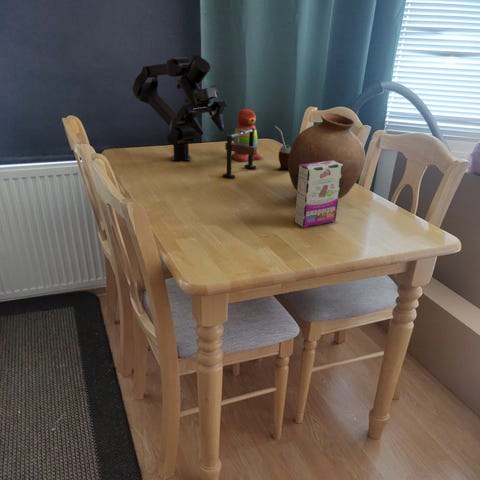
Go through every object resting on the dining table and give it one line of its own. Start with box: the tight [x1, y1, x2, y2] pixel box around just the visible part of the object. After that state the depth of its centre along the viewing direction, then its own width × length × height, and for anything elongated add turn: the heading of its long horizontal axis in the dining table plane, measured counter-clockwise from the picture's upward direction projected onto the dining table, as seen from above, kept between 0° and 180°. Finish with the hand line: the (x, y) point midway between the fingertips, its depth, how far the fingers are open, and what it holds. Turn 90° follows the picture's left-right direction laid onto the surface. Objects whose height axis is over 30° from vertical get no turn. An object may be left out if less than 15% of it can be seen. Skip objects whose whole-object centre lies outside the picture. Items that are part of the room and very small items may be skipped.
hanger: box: [224, 129, 258, 155], centre depth 166 cm, size 12×2×8 cm, turn 57°
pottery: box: [287, 112, 366, 200], centre depth 146 cm, size 23×23×25 cm
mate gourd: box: [274, 125, 292, 171], centre depth 174 cm, size 8×8×15 cm
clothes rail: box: [222, 128, 257, 180], centre depth 169 cm, size 4×16×14 cm, turn 146°
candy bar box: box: [294, 160, 343, 229], centre depth 132 cm, size 11×5×16 cm, turn 117°
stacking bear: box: [232, 107, 263, 162], centre depth 185 cm, size 11×10×18 cm
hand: (212, 132), depth 167 cm, fingers open, 9 cm apart
